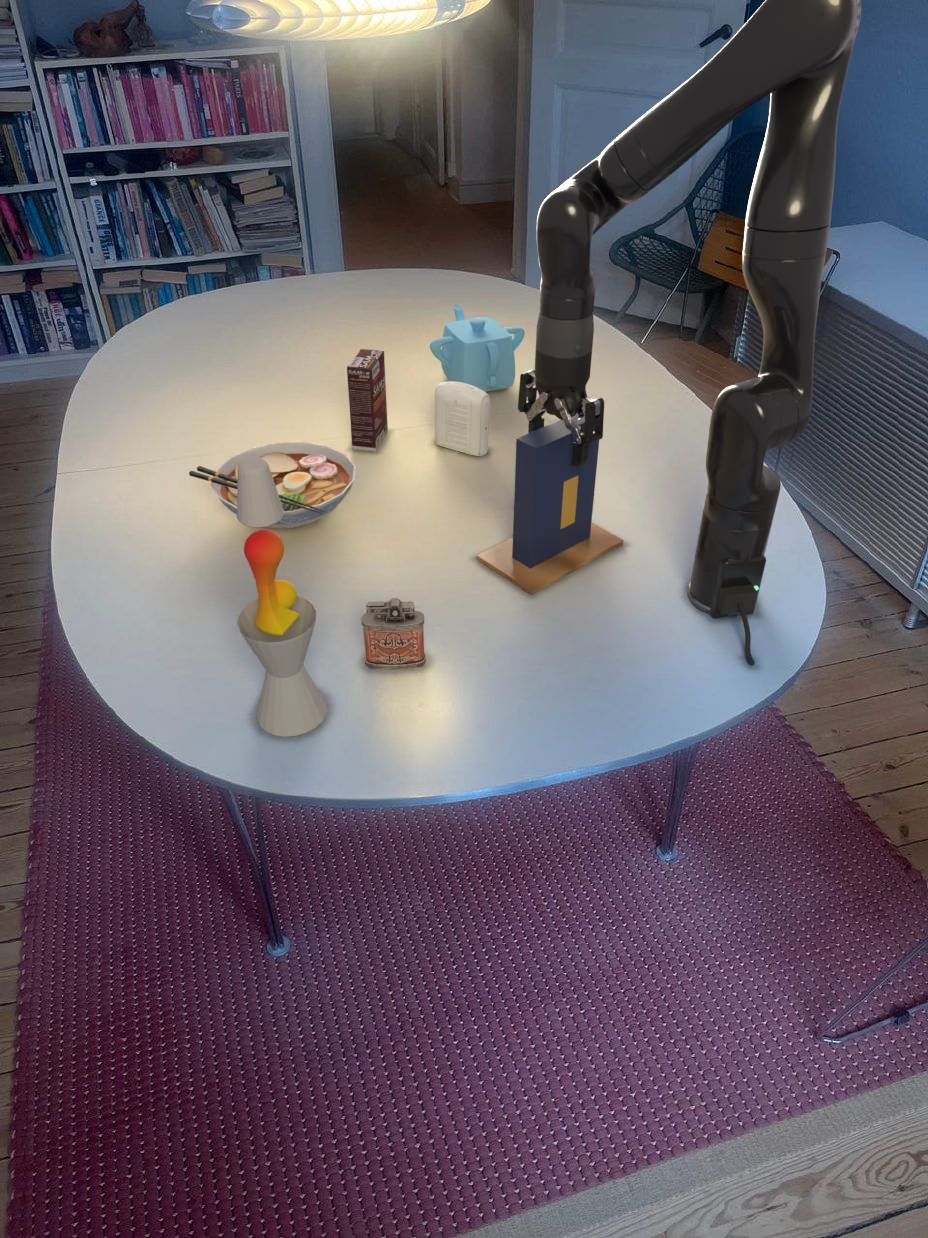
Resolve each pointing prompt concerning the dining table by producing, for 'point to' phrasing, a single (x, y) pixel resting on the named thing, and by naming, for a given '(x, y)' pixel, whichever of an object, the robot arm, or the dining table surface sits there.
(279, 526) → the ramen bowl
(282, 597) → the lava lamp
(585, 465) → the book
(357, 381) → the supplement box
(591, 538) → the cork mat
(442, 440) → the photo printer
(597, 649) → the dining table surface
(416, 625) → the lighter
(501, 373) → the teapot
